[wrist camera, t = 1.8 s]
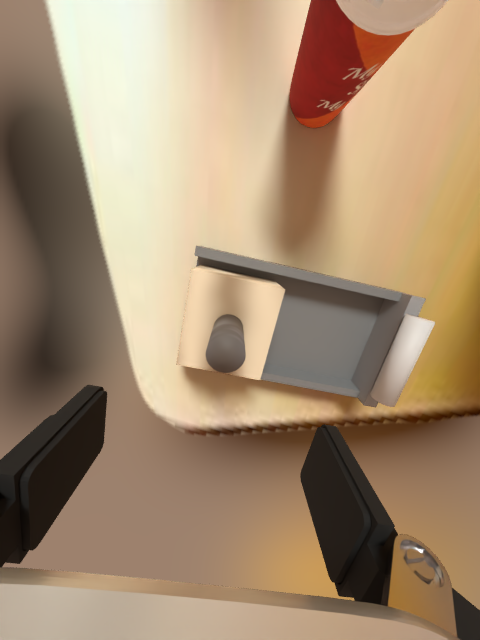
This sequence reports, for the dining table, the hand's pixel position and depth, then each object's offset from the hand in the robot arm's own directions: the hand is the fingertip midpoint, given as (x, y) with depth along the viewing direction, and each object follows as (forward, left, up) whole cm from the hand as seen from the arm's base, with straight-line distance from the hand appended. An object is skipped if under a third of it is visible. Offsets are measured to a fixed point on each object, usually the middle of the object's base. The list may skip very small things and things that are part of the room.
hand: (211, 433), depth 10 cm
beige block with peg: (0, 0, -20) cm, 20 cm away
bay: (-8, 0, -21) cm, 22 cm away
